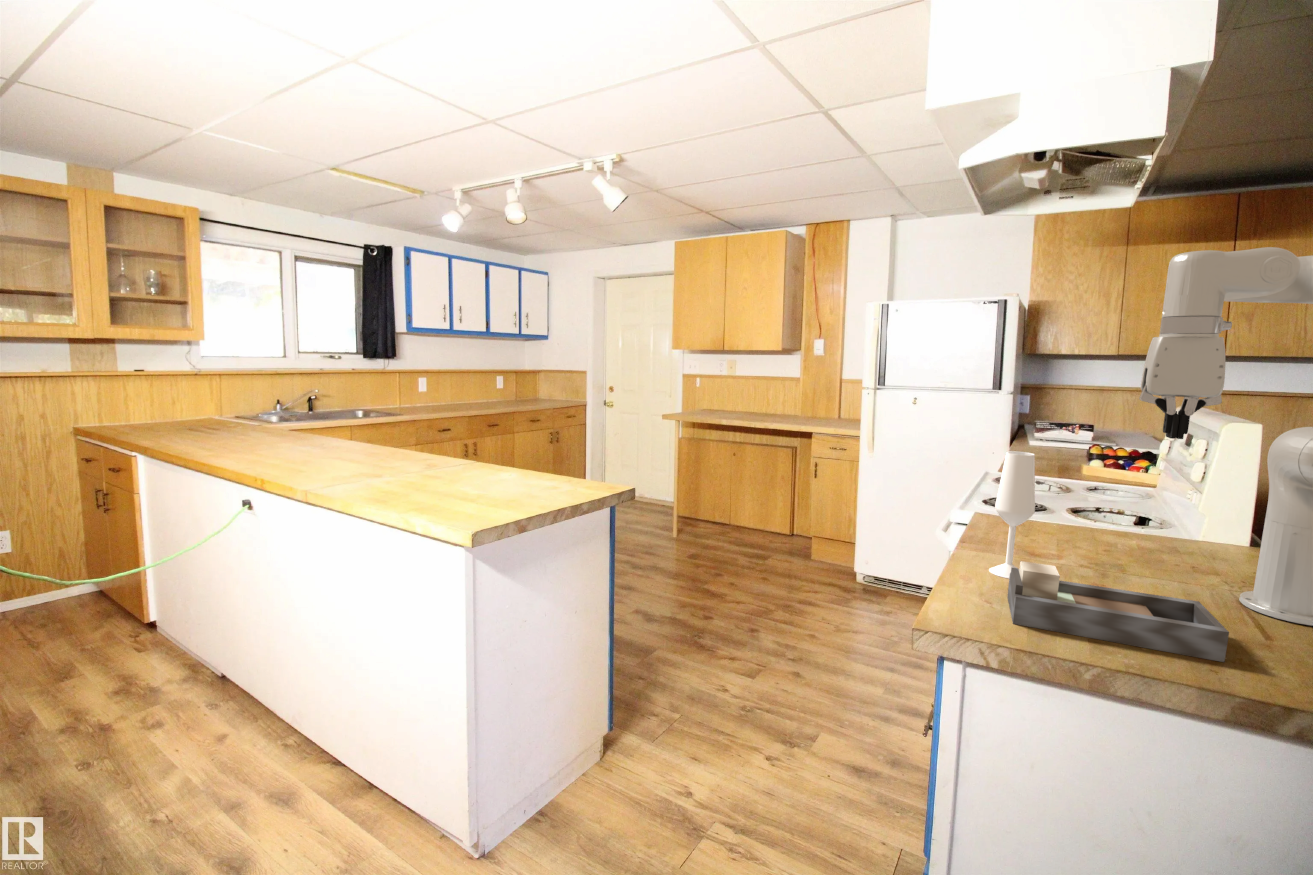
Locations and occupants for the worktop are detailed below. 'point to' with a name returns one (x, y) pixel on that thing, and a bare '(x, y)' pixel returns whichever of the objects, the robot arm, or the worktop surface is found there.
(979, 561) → the worktop surface
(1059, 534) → the worktop surface
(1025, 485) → the champagne flute
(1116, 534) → the worktop surface
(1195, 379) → the robot arm
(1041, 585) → the block
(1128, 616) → the tray
